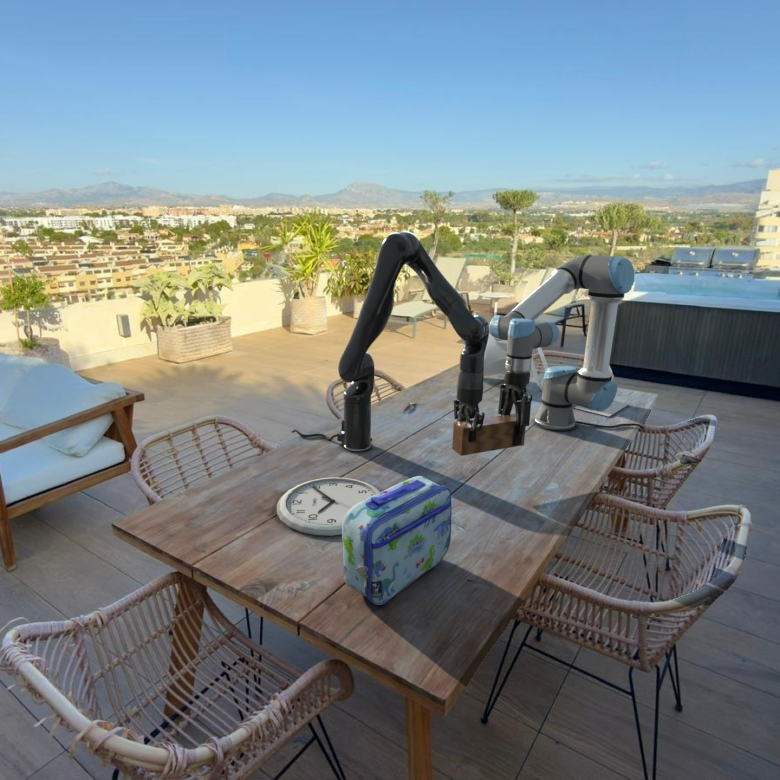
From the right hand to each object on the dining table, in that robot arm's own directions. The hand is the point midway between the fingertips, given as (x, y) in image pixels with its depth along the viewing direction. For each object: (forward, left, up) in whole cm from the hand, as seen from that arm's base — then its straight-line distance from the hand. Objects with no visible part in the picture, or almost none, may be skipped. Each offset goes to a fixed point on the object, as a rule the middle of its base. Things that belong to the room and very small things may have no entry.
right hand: (511, 440), depth 165 cm
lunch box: (+29, +60, -9) cm, 68 cm away
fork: (+36, -53, -9) cm, 65 cm away
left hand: (+14, +8, +3) cm, 17 cm away
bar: (+7, +4, -1) cm, 8 cm away
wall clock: (+50, +32, -9) cm, 61 cm away
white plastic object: (-8, -95, -9) cm, 95 cm away
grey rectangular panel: (-46, -67, -9) cm, 81 cm away
